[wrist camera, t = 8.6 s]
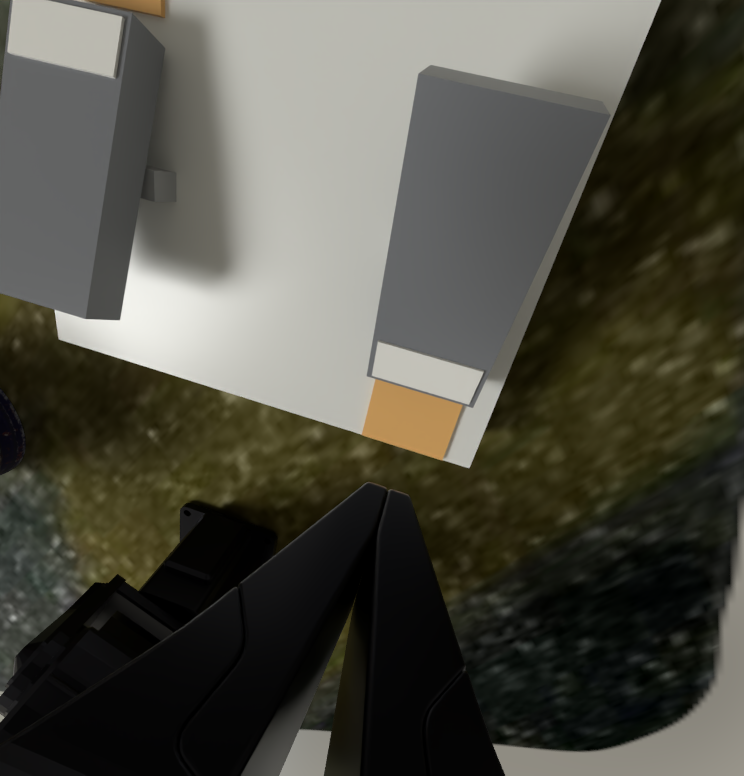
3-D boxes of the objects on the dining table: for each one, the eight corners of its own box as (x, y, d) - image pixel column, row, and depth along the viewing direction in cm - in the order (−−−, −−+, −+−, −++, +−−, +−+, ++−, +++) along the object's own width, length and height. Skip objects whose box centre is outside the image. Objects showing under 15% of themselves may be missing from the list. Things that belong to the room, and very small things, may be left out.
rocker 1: (119, 320, 15) (82, 319, 13) (24, 291, 15) (-24, 286, 14) (165, 48, 13) (129, 10, 12) (57, 23, 14) (8, -16, 12)
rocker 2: (477, 380, 16) (472, 409, 15) (377, 351, 16) (365, 378, 15) (602, 101, 9) (611, 115, 8) (431, 64, 10) (417, 74, 9)
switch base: (469, 432, 20) (468, 485, 16) (108, 322, 22) (34, 347, 18) (631, 18, 13) (696, -55, 9) (75, -88, 15) (-56, -184, 11)
